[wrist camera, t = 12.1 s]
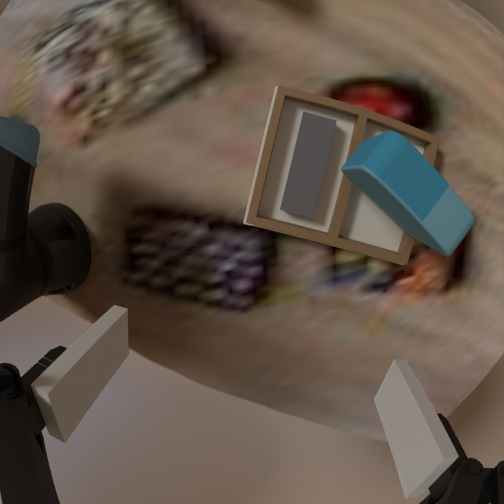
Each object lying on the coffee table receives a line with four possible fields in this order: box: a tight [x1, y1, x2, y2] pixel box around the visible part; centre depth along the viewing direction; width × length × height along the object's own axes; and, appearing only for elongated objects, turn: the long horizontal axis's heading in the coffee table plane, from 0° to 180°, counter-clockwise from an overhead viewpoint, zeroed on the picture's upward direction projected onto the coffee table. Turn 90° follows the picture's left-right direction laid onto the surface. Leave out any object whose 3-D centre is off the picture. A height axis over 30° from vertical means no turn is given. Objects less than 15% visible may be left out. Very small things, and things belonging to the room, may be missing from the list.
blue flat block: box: [341, 131, 475, 257], centre depth 27 cm, size 12×4×12 cm, turn 52°
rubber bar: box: [280, 112, 337, 218], centre depth 34 cm, size 4×12×2 cm, turn 167°
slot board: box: [243, 86, 439, 265], centre depth 35 cm, size 22×18×3 cm
